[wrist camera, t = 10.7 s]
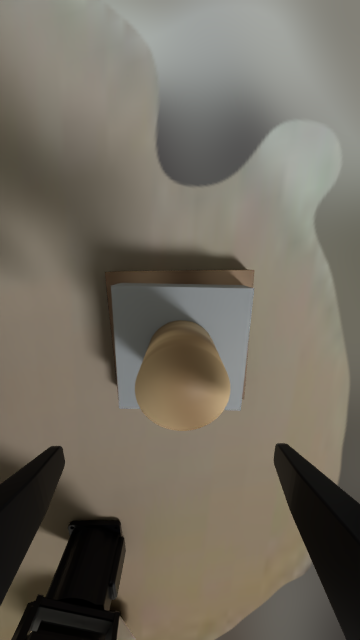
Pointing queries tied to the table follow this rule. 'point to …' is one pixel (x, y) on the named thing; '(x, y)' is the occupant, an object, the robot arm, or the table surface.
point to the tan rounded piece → (182, 378)
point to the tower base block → (177, 278)
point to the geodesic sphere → (124, 631)
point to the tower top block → (172, 305)
